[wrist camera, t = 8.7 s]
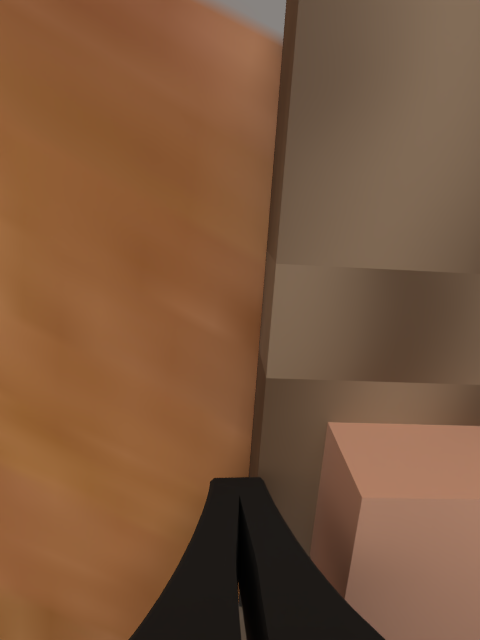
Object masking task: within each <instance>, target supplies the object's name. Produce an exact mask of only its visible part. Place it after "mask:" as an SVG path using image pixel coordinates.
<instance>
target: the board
mask: <svg viewBox="0 0 480 640" xmlns="http://www.w3.org/2000/svg"><path fill="white" fill-rule="evenodd" d="M328 422H340V423H380V424H420V425H460V426H480V0H286V13H285V26H284V38H283V51H282V64H281V76H280V89H279V101H278V114H277V127H276V139H275V152H274V165H273V177H272V190H271V203H270V215H269V228H268V241H267V253H266V266H265V279H264V291H263V304H262V317H261V329H260V342H259V355H258V367H257V380H256V392H255V405H254V418H253V430H252V443H251V456H250V468H249V477H261V478H262V479H263V480H264V482H265V485H266V487H267V489H268V491H269V493H270V495H271V497H272V499H273V501H274V503H275V505H276V507H277V508H278V510H279V512H280V514H281V515H282V517H283V519H284V520H285V522H286V524H287V525H288V527H289V528H290V530H291V531H292V533H293V534H294V536H295V538H296V539H297V541H298V542H299V543H300V545H301V546H302V548H303V549H304V550H305V552H306V553H307V555H308V556H309V557H310V559H311V556H310V549H311V542H312V535H313V527H314V520H315V513H316V505H317V498H318V491H319V483H320V476H321V469H322V461H323V454H324V447H325V439H326V432H327V425H328ZM239 616H240V629H241V640H247V639H246V632H245V625H244V618H243V611H242V604H241V597H240V595H239Z"/></svg>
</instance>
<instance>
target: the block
mask: <svg viewBox="0 0 480 640" xmlns="http://www.w3.org/2000/svg"><path fill="white" fill-rule="evenodd" d="M310 556H311V560H312V561H313V563H314V564H315V565H316V567H317V568H318V569H319V570H320V572H321V573H322V574H323V575H324V577H325V578H326V579H327V580H328V581H329V582H330V584H331V585H332V586H333V587H334V588H335V589H336V590H337V592H338V593H339V594H340V595H341V596H342V597H343V598H344V599H345V600H346V601H347V602H348V603H349V605H350V606H351V607H352V608H353V609H354V610H355V611H356V612H357V613H358V614H359V615H360V616H361V617H362V618H363V619H365V620H366V621H367V622H368V623H369V624H370V625H371V626H372V627H373V628H374V629H375V630H376V631H377V632H378V633H379V634H380V635H381V636H382V637H383V638H384V639H386V640H480V426H460V425H420V424H380V423H340V422H328V425H327V432H326V439H325V447H324V454H323V461H322V469H321V476H320V483H319V491H318V498H317V505H316V513H315V520H314V527H313V535H312V542H311V549H310Z"/></svg>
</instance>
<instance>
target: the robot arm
mask: <svg viewBox="0 0 480 640" xmlns="http://www.w3.org/2000/svg"><path fill="white" fill-rule="evenodd" d="M238 582H239V590H240V597H241V604H242V611H243V618H244V625H245V632H246V639H247V640H386V639H384V638H383V637H382V636H381V635H380V634H379V633H378V632H377V631H376V630H375V629H374V628H373V627H372V626H371V625H370V624H369V623H368V622H367V621H366V620H365V619H363V618H362V617H361V616H360V615H359V614H358V613H357V612H356V611H355V610H354V609H353V608H352V607H351V606H350V605H349V603H348V602H347V601H346V600H345V599H344V598H343V597H342V596H341V595H340V594H339V593H338V592H337V590H336V589H335V588H334V587H333V586H332V585H331V584H330V582H329V581H328V580H327V579H326V578H325V577H324V575H323V574H322V573H321V572H320V570H319V569H318V568H317V567H316V565H315V564H314V563H313V561H312V560H311V559H310V557H309V556H308V555H307V553H306V552H305V550H304V549H303V548H302V546H301V545H300V543H299V542H298V541H297V539H296V538H295V536H294V534H293V533H292V531H291V530H290V528H289V527H288V525H287V524H286V522H285V520H284V519H283V517H282V515H281V514H280V512H279V510H278V508H277V507H276V505H275V503H274V501H273V499H272V497H271V495H270V493H269V491H268V489H267V487H266V485H265V482H264V480H263V479H262V478H261V477H242V478H214V479H213V480H212V481H211V482H210V487H209V492H208V496H207V500H206V503H205V506H204V509H203V512H202V515H201V517H200V520H199V522H198V524H197V527H196V529H195V532H194V534H193V536H192V539H191V541H190V543H189V545H188V547H187V549H186V551H185V553H184V555H183V557H182V559H181V561H180V563H179V565H178V566H177V568H176V570H175V572H174V574H173V575H172V577H171V579H170V580H169V582H168V584H167V585H166V587H165V589H164V590H163V592H162V593H161V595H160V597H159V598H158V600H157V601H156V603H155V604H154V606H153V607H152V608H151V610H150V611H149V613H148V614H147V616H146V617H145V619H144V620H143V622H142V623H141V624H140V626H139V627H138V628H137V630H136V631H135V632H134V634H133V635H132V636H131V637H130V639H129V640H241V629H240V616H239V604H238V591H237V590H238Z"/></svg>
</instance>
